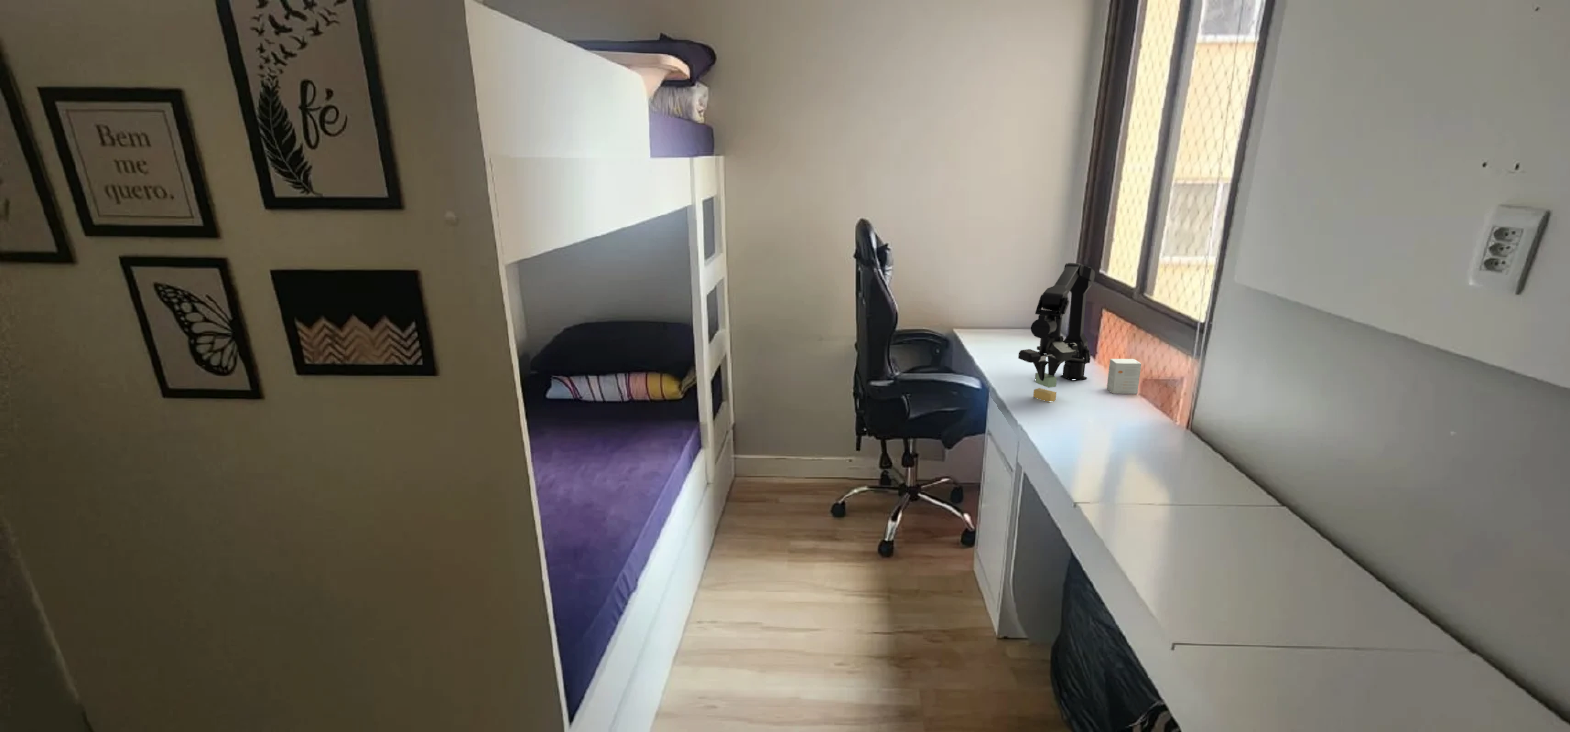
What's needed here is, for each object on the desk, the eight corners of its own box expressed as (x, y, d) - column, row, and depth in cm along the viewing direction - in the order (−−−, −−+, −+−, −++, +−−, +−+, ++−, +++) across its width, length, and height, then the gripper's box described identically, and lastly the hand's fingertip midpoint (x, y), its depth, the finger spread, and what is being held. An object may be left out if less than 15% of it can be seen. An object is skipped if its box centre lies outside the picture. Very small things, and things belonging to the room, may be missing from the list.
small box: (1131, 389, 225) (1135, 358, 222) (1137, 394, 220) (1142, 363, 217) (1105, 388, 226) (1109, 358, 223) (1112, 393, 221) (1116, 362, 218)
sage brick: (1035, 382, 217) (1036, 373, 216) (1043, 381, 218) (1044, 372, 217) (1048, 387, 212) (1048, 378, 211) (1055, 386, 213) (1056, 377, 212)
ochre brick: (1033, 398, 218) (1033, 389, 217) (1038, 396, 219) (1039, 387, 219) (1050, 403, 213) (1051, 394, 212) (1055, 401, 215) (1056, 392, 214)
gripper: (1043, 340, 200) (1038, 390, 204) (1094, 335, 206) (1088, 383, 210) (1019, 332, 210) (1015, 380, 214) (1068, 327, 216) (1063, 374, 220)
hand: (1046, 379), depth 214 cm, fingers closed on sage brick, 3 cm apart
